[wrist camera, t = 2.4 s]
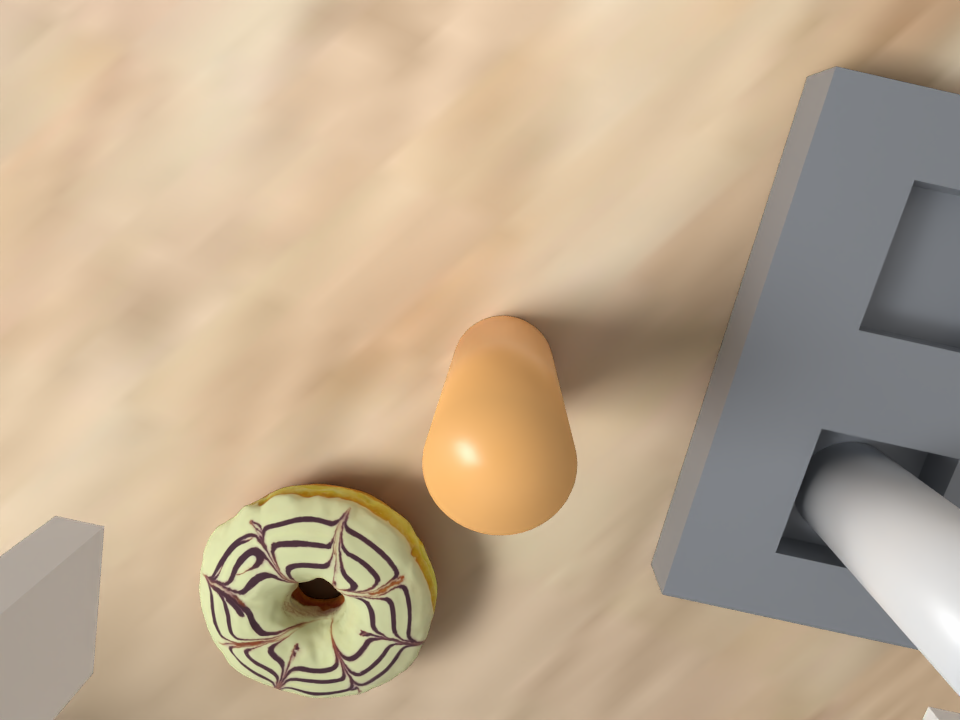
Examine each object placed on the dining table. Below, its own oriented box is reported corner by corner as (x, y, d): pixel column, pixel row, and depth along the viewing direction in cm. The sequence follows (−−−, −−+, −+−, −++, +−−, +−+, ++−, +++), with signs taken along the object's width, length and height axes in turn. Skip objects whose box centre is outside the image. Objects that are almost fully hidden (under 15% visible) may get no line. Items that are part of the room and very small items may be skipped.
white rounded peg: (780, 521, 30) (925, 703, 20) (813, 432, 29) (985, 574, 19) (874, 541, 31) (1069, 734, 20) (911, 454, 29) (1138, 607, 19)
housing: (936, 626, 32) (969, 661, 30) (651, 564, 32) (661, 594, 30) (1152, 155, 26) (1214, 153, 24) (807, 76, 26) (835, 66, 24)
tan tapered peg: (444, 400, 30) (409, 517, 20) (464, 305, 29) (438, 376, 19) (539, 421, 30) (556, 549, 20) (563, 327, 29) (594, 410, 19)
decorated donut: (181, 517, 33) (140, 559, 29) (378, 434, 31) (360, 467, 27) (284, 685, 35) (258, 744, 31) (472, 615, 33) (468, 668, 30)
